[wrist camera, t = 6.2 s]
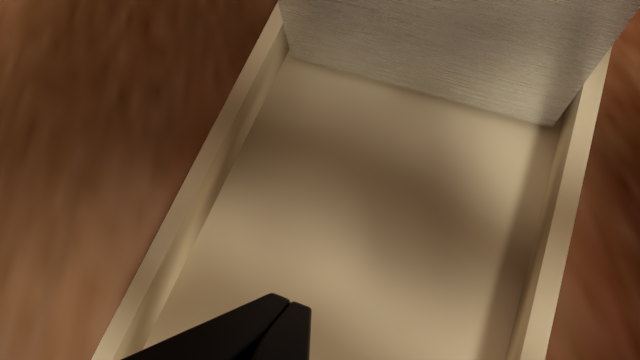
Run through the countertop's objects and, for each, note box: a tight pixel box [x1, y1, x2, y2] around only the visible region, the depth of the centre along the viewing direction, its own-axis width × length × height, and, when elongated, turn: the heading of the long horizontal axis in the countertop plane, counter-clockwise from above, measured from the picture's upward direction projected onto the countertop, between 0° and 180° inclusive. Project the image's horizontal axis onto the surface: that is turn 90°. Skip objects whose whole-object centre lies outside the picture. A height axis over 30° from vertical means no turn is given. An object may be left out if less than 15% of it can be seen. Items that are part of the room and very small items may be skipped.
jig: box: [91, 2, 612, 360], centre depth 14 cm, size 22×12×8 cm, turn 159°
